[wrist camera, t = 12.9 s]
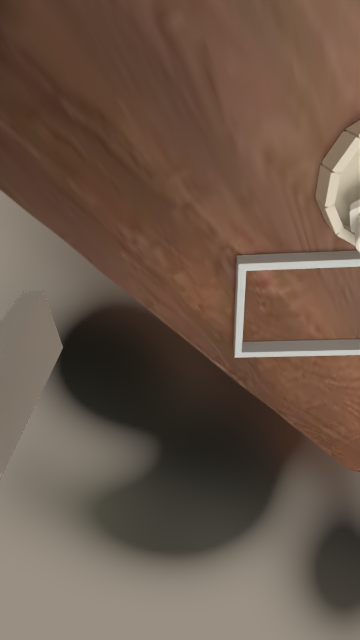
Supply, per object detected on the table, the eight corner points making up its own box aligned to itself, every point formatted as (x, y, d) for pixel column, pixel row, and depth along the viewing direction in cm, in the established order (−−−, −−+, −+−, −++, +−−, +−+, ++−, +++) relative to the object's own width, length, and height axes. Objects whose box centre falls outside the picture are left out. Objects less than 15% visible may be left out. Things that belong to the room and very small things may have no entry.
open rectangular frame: (236, 255, 46) (238, 264, 44) (425, 247, 44) (436, 256, 42) (233, 346, 55) (234, 357, 53) (388, 343, 54) (396, 353, 52)
